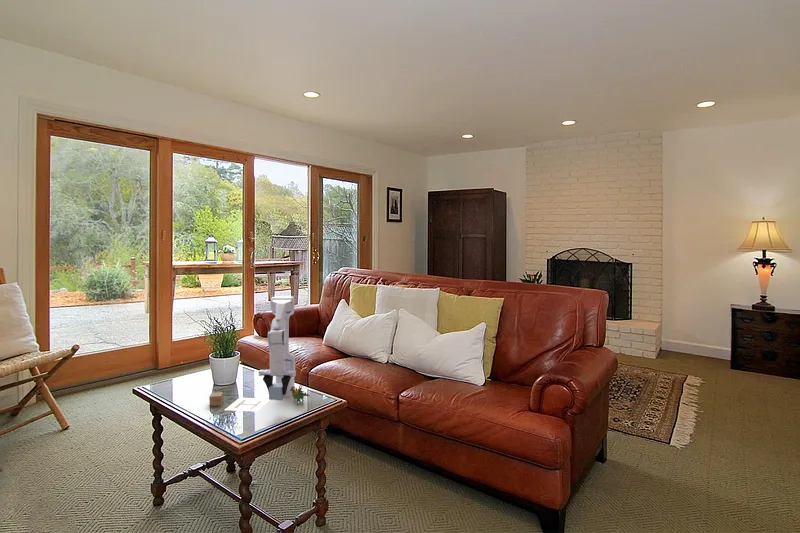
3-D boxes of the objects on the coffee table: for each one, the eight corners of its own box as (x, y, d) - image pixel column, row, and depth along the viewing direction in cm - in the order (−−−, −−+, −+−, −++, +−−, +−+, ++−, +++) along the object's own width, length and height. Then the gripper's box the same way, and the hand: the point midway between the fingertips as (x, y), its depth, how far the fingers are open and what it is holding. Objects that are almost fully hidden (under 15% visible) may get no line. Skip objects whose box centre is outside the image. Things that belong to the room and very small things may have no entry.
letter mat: (239, 398, 194) (239, 397, 194) (270, 399, 192) (270, 398, 192) (224, 411, 180) (224, 410, 180) (257, 412, 178) (257, 411, 178)
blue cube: (273, 395, 179) (273, 382, 178) (285, 395, 178) (285, 383, 178) (269, 399, 174) (268, 387, 173) (281, 400, 173) (281, 387, 173)
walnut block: (212, 403, 188) (211, 392, 188) (223, 402, 189) (222, 392, 189) (209, 407, 184) (209, 396, 184) (221, 406, 185) (220, 395, 185)
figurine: (293, 399, 193) (292, 381, 192) (312, 405, 186) (312, 386, 185) (287, 401, 190) (287, 383, 190) (307, 408, 183) (307, 388, 183)
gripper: (255, 362, 172) (255, 396, 173) (291, 363, 170) (291, 398, 171) (262, 357, 179) (263, 390, 180) (297, 358, 177) (297, 391, 178)
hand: (277, 393), depth 176 cm, fingers closed on blue cube, 5 cm apart
